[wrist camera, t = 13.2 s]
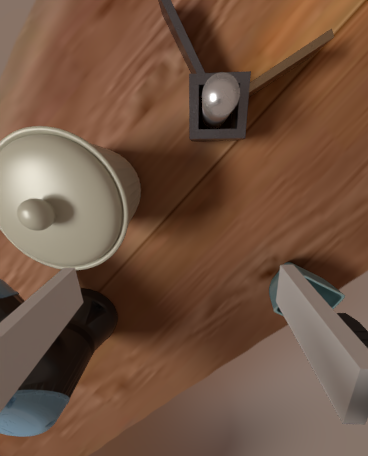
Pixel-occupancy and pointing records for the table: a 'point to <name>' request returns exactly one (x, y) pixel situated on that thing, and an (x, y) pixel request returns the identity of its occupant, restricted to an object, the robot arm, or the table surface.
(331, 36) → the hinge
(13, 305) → the robot arm
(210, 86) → the hinge pin
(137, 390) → the table surface
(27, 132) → the canister
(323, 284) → the flower pot
